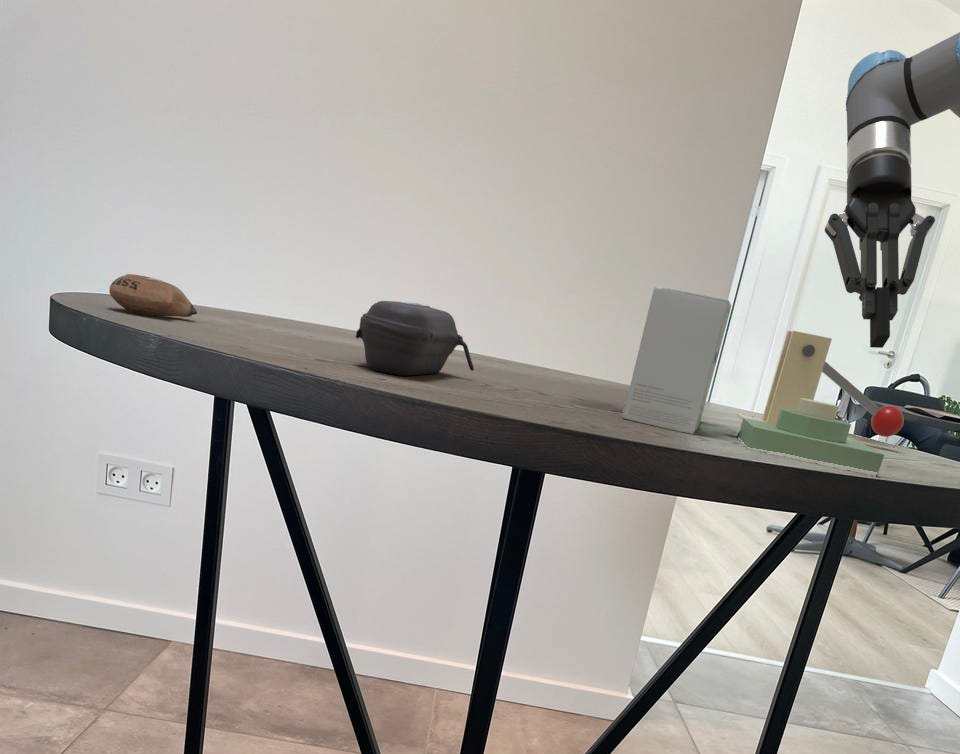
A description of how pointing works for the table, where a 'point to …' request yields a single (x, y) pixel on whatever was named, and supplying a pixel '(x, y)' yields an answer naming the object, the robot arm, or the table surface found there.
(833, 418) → the button
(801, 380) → the bracket
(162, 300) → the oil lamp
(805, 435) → the button box
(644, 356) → the white packaging box
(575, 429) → the table surface
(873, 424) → the lever
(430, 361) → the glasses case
